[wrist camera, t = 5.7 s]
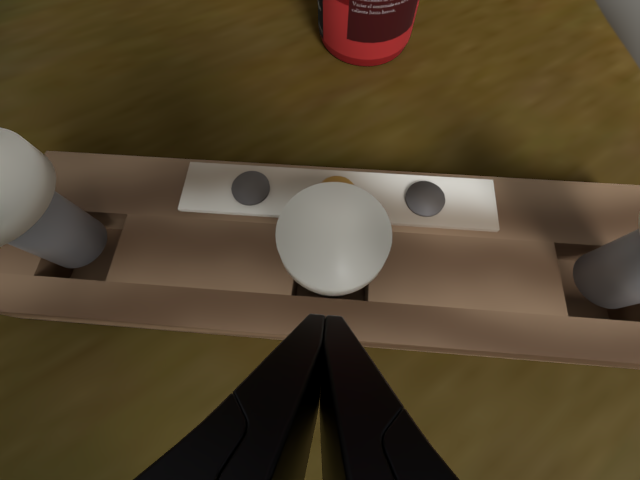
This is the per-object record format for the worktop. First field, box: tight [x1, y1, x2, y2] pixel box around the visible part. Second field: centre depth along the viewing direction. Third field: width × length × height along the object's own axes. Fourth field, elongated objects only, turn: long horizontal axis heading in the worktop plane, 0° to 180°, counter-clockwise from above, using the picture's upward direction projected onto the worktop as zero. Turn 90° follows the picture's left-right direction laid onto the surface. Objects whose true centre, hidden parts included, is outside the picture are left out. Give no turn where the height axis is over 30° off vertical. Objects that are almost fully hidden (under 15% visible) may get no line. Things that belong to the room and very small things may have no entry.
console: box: [0, 151, 640, 369], centre depth 20 cm, size 10×37×4 cm, turn 85°
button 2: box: [0, 128, 107, 268], centre depth 16 cm, size 5×5×6 cm
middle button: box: [275, 182, 392, 298], centre depth 17 cm, size 5×5×6 cm
